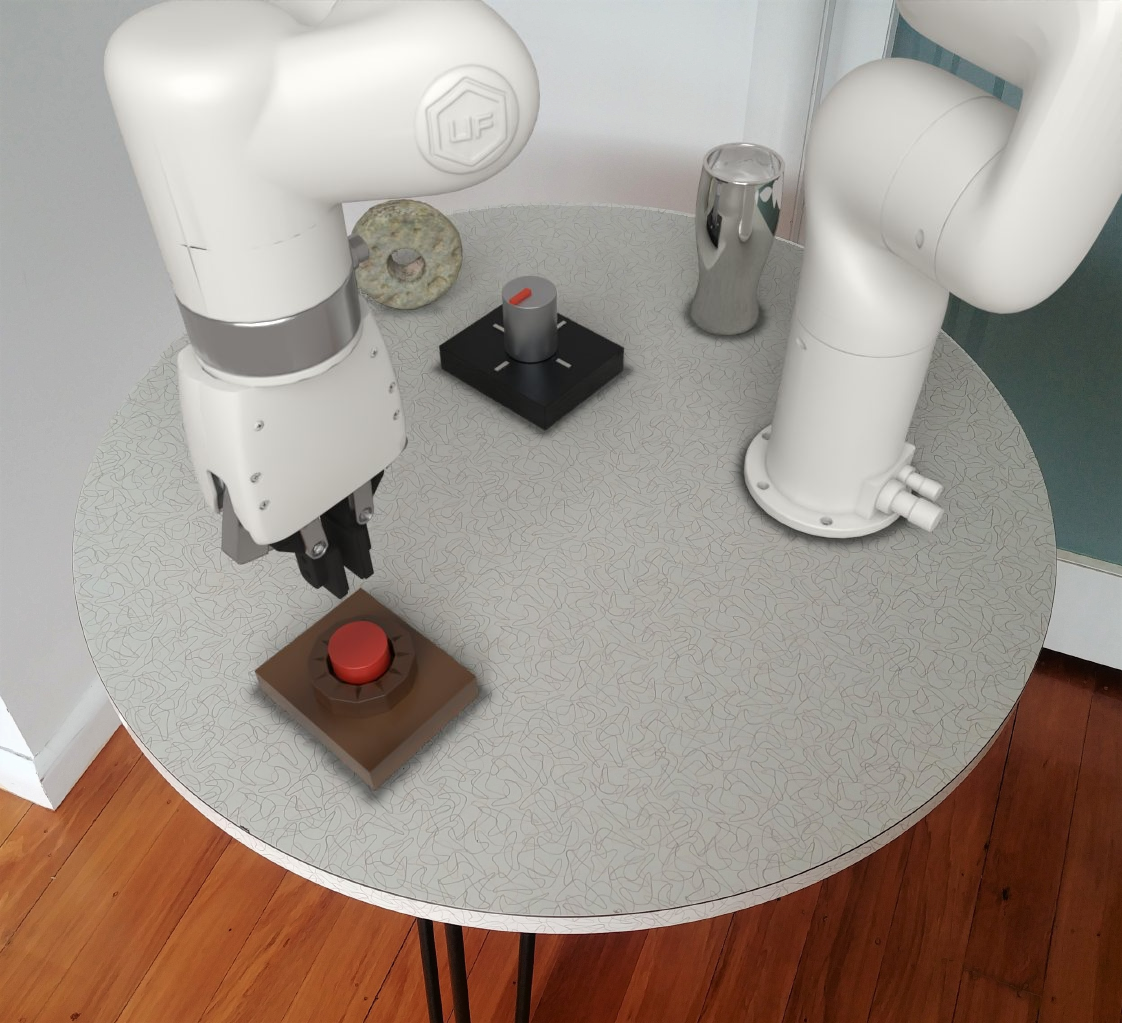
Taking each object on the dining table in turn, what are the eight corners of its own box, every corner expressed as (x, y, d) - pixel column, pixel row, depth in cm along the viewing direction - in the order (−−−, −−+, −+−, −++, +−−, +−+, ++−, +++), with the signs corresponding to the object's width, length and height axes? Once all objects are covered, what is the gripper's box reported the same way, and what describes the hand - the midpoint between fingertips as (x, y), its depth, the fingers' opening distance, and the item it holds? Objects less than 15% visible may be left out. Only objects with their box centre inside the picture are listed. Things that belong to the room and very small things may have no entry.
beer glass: (725, 349, 92) (746, 194, 81) (669, 313, 96) (682, 160, 85) (779, 317, 95) (806, 164, 84) (722, 283, 99) (741, 132, 88)
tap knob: (528, 323, 91) (525, 266, 87) (568, 343, 89) (567, 285, 85) (494, 348, 89) (490, 291, 84) (534, 369, 87) (532, 311, 83)
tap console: (623, 370, 91) (624, 346, 89) (545, 431, 86) (544, 406, 84) (520, 315, 96) (519, 290, 94) (441, 368, 91) (438, 344, 89)
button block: (479, 695, 68) (475, 659, 66) (374, 791, 64) (365, 757, 61) (365, 606, 73) (356, 569, 71) (261, 689, 69) (247, 654, 66)
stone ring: (355, 317, 96) (337, 219, 89) (356, 294, 98) (339, 197, 91) (467, 309, 97) (459, 212, 89) (466, 287, 99) (457, 190, 92)
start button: (402, 658, 66) (399, 641, 65) (359, 695, 64) (354, 678, 63) (364, 627, 68) (360, 611, 66) (320, 663, 66) (315, 646, 65)
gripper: (349, 205, 52) (395, 470, 66) (68, 356, 44) (186, 622, 58) (457, 262, 49) (482, 529, 62) (173, 436, 41) (272, 699, 54)
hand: (339, 573), depth 60 cm, fingers closed
